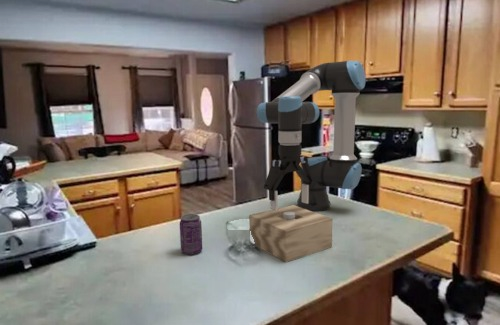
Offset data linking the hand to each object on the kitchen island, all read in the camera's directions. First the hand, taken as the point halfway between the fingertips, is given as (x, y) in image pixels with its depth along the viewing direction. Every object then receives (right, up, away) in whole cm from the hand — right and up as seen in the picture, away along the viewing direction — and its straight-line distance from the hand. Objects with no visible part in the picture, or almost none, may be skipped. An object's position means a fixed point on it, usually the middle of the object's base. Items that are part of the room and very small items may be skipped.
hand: (290, 206), depth 122 cm
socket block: (0, -14, +2) cm, 14 cm away
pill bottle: (0, -12, +2) cm, 12 cm away
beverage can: (-33, -15, -2) cm, 36 cm away
